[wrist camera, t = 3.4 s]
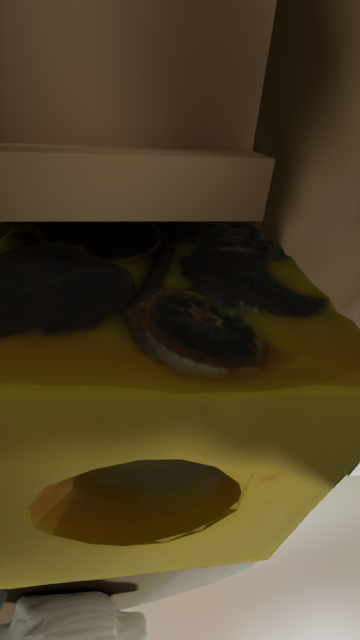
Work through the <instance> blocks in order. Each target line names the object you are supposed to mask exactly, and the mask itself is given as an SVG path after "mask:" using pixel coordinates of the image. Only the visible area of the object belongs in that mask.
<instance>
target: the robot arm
mask: <svg viewBox="0 0 360 640" xmlns="http://www.w3.org/2000/svg"><path fill="white" fill-rule="evenodd" d="M356 475H360V461H359V462H358V463H357V464H356V465H355V466H354V467H353V468H352V469H351V470H350V472H349V473H348V476H356ZM9 590H10V589H0V610H1V608H2V606H3V604H4V602H5V600H6V598H7V596H8V593H9Z"/></svg>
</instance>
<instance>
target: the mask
mask: <svg viewBox="0 0 360 640" xmlns="http://www.w3.org/2000/svg"><path fill="white" fill-rule="evenodd" d="M0 640H147V631H146V619H145V616H144V615H143V614H142V613H140V612H123V611H120V610H118V609H117V608H116V606H115V603H114V602H113V600H112V599H111V598H110V597H109V596H108V595H106V594H104V593H102V592H98V591H90V592H79V593H69V594H53V595H30V596H28V597H25V596H23V597H21V598H20V599H19V600H18V601H17V603H16V610H15V613H14V616H13V620H12V621H11V622H9V623H7V624H6V623H4V624H2V625H0Z"/></svg>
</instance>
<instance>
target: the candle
mask: <svg viewBox="0 0 360 640" xmlns="http://www.w3.org/2000/svg"><path fill="white" fill-rule="evenodd" d="M359 461H360V329H359V328H358V326H357V325H356V324H355V323H354V322H353V321H352V320H350V319H348V318H346V317H344V316H343V315H341V314H339V313H337V311H336V309H335V307H334V306H333V304H332V302H331V300H330V298H329V297H328V296H327V295H325V294H324V293H323V292H322V291H321V290H319V289H318V288H317V287H316V286H315V285H314V284H313V283H312V282H311V281H310V280H309V279H308V278H307V276H306V275H305V274H304V273H303V272H302V271H301V270H300V269H299V267H298V265H297V264H296V262H295V261H294V260H293V259H292V258H291V257H290V256H287V255H285V253H284V250H283V249H282V247H281V246H280V245H279V244H278V243H276V242H273V241H270V240H268V239H265V238H264V236H263V235H262V234H261V232H260V231H259V230H257V229H256V228H254V227H252V226H250V225H248V224H247V225H244V226H241V227H239V226H236V225H227V224H224V223H221V222H218V221H216V222H207V223H206V222H203V221H12V223H11V226H10V230H9V232H8V233H7V234H6V235H5V236H3V237H2V238H1V239H0V589H14V588H22V587H30V586H38V585H46V584H54V583H64V582H73V581H85V580H98V579H107V578H114V577H121V576H128V575H136V574H145V573H153V572H161V571H170V570H182V569H194V568H205V567H213V566H221V565H228V564H236V563H243V562H256V561H262V560H267V559H269V558H270V557H271V556H272V554H273V553H274V552H275V551H276V549H277V548H278V547H279V546H280V545H281V544H282V543H283V542H284V541H285V540H286V538H287V537H288V536H289V535H290V534H291V533H292V532H293V531H294V530H295V529H296V528H297V526H298V525H299V524H300V523H301V522H302V521H303V519H304V518H305V517H306V516H307V514H309V512H310V511H311V510H312V509H313V508H314V507H315V506H316V505H317V504H318V503H319V502H320V501H321V500H322V499H323V498H324V497H325V496H326V495H327V494H328V493H329V492H330V491H331V490H332V489H333V488H334V487H335V486H336V485H337V484H338V483H339V482H340V481H341V480H342V479H343V478H344V476H346V474H348V473H349V472H350V470H351V469H352V468H353V467H354V466H355V465H356V464H357V463H358V462H359Z"/></svg>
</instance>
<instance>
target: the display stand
mask: <svg viewBox="0 0 360 640" xmlns="http://www.w3.org/2000/svg"><path fill="white" fill-rule="evenodd" d="M276 4H277V0H0V222H6V221H263V217H264V212H265V207H266V203H267V198H268V193H269V188H270V183H271V179H272V174H273V169H274V164H275V160H276V159H274V158H271V157H268V156H265V155H263V154H260V153H257V152H255V151H252V150H253V144H254V138H255V132H256V126H257V120H258V114H259V108H260V102H261V95H262V89H263V83H264V77H265V71H266V65H267V59H268V53H269V47H270V41H271V35H272V28H273V22H274V16H275V10H276Z"/></svg>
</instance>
